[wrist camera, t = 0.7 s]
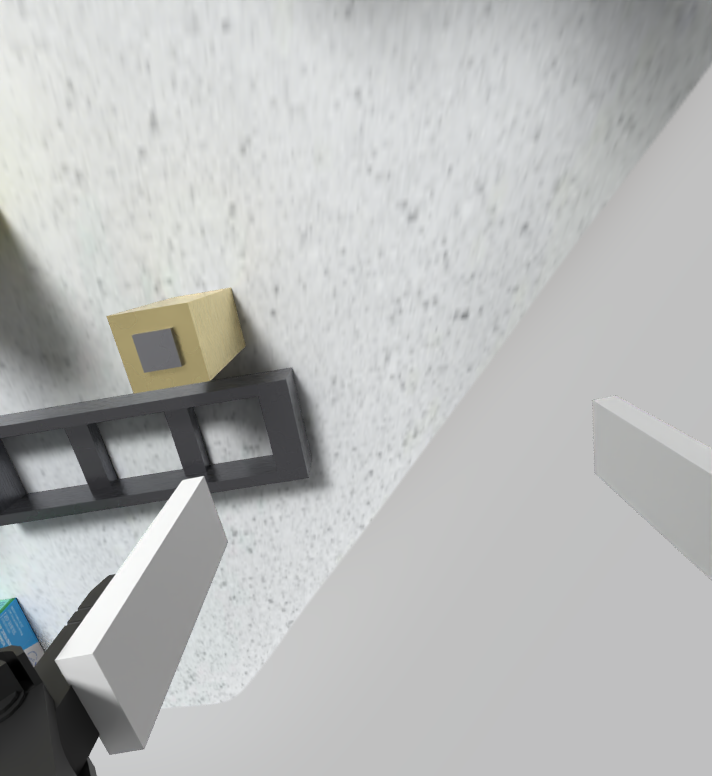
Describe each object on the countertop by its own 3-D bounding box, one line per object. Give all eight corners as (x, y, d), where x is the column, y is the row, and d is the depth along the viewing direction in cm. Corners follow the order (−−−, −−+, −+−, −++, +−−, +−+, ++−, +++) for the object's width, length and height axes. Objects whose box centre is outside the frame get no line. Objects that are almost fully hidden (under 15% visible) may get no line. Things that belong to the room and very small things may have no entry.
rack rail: (-37, 421, 38) (-73, 438, 35) (291, 367, 37) (286, 379, 34) (6, 506, 41) (-25, 529, 38) (311, 458, 40) (308, 477, 37)
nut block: (171, 297, 35) (103, 317, 25) (230, 287, 35) (185, 303, 25) (189, 355, 37) (130, 395, 27) (245, 346, 36) (208, 382, 27)
